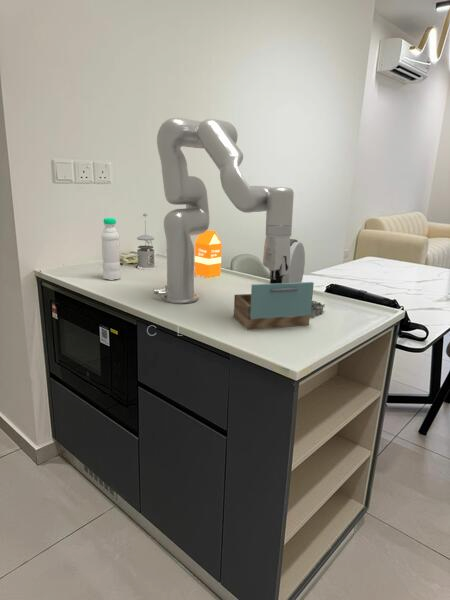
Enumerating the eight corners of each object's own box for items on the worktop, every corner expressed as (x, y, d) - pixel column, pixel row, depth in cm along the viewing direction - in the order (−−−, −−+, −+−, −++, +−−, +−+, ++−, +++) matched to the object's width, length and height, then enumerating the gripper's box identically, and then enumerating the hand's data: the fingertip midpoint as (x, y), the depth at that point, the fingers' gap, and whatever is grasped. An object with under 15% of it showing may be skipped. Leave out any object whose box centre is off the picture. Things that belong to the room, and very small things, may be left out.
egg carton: (311, 320, 142) (312, 307, 140) (290, 314, 146) (291, 302, 145) (326, 312, 150) (327, 300, 148) (306, 307, 154) (307, 296, 153)
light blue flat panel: (252, 319, 127) (254, 286, 124) (250, 317, 129) (251, 284, 126) (312, 315, 132) (315, 283, 130) (309, 314, 134) (312, 281, 131)
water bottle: (124, 278, 185) (122, 218, 179) (111, 281, 180) (109, 219, 173) (112, 276, 189) (109, 216, 182) (99, 279, 183) (96, 217, 176)
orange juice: (207, 272, 202) (208, 228, 196) (220, 276, 196) (222, 230, 190) (194, 275, 196) (194, 229, 191) (208, 278, 190) (209, 231, 185)
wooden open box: (247, 329, 130) (248, 306, 128) (233, 315, 142) (234, 294, 140) (308, 325, 136) (310, 303, 134) (291, 312, 148) (292, 291, 146)
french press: (132, 268, 205) (130, 213, 198) (141, 263, 216) (139, 211, 209) (152, 270, 203) (152, 214, 196) (160, 265, 214) (160, 212, 207)
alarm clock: (286, 281, 189) (289, 235, 184) (303, 284, 186) (307, 237, 181) (269, 292, 171) (272, 241, 165) (287, 295, 168) (291, 243, 162)
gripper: (257, 228, 135) (255, 286, 140) (276, 234, 122) (273, 298, 127) (280, 227, 138) (277, 285, 142) (301, 233, 124) (297, 297, 129)
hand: (275, 291), depth 134 cm, fingers closed
